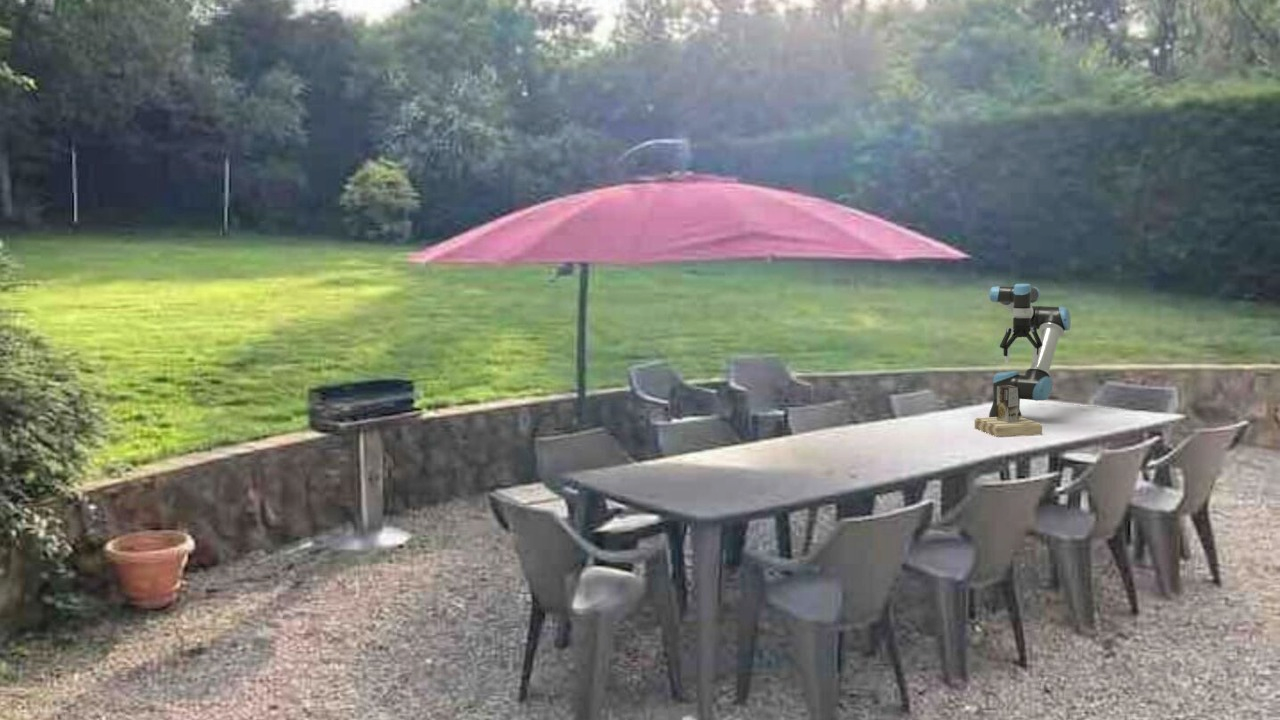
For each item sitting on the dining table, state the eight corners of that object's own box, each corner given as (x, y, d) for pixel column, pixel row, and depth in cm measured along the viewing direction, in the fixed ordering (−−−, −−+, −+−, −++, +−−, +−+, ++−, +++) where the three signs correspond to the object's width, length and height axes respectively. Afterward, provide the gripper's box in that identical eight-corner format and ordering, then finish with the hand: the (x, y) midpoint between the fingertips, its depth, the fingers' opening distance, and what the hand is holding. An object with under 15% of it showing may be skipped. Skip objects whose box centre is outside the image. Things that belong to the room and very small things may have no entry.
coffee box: (1020, 421, 507) (1020, 387, 505) (1007, 422, 505) (1008, 387, 503) (1007, 418, 516) (1008, 384, 514) (995, 419, 514) (996, 385, 512)
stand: (974, 428, 520) (974, 417, 519) (1018, 426, 523) (1018, 415, 523) (996, 437, 498) (996, 426, 498) (1041, 434, 502) (1042, 423, 501)
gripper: (1000, 318, 508) (999, 364, 511) (1050, 316, 512) (1049, 362, 515) (992, 317, 516) (991, 362, 518) (1042, 315, 519) (1041, 360, 522)
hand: (1020, 362), depth 516 cm, fingers open, 13 cm apart
